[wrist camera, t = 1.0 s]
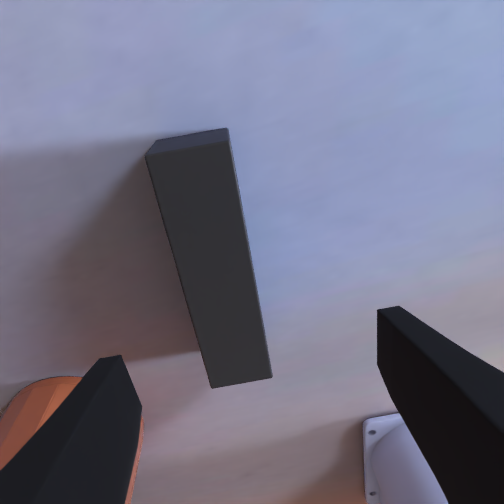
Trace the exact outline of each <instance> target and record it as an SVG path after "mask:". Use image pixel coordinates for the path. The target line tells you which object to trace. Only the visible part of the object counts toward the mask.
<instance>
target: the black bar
mask: <svg viewBox="0 0 504 504" xmlns="http://www.w3.org/2000/svg"><path fill="white" fill-rule="evenodd" d="M145 160H146V164H147V167H148V171H149V174H150V177H151V181H152V184H153V188H154V191H155V195H156V198H157V202H158V205H159V209H160V212H161V216H162V219H163V223H164V226H165V230H166V233H167V236H168V240H169V243H170V247H171V250H172V254H173V257H174V261H175V264H176V268H177V271H178V275H179V278H180V282H181V285H182V289H183V292H184V296H185V299H186V302H187V306H188V309H189V313H190V316H191V320H192V323H193V327H194V330H195V334H196V337H197V341H198V344H199V348H200V351H201V355H202V358H203V362H204V365H205V368H206V372H207V375H208V379H209V382H210V386H211V388H212V389H213V388H218V387H224V386H230V385H235V384H241V383H246V382H252V381H257V380H263V379H268V378H272V377H273V375H272V369H271V364H270V358H269V353H268V347H267V341H266V336H265V330H264V325H263V319H262V314H261V308H260V303H259V297H258V292H257V286H256V280H255V275H254V269H253V264H252V258H251V253H250V247H249V242H248V236H247V230H246V225H245V219H244V214H243V208H242V203H241V197H240V192H239V186H238V180H237V175H236V169H235V164H234V158H233V153H232V147H231V142H230V136H229V131H228V128H222V129H217V130H211V131H206V132H200V133H194V134H189V135H183V136H178V137H172V138H166V139H161V140H157V141H155V143H154V144H153V145H152V147H151V148H150V149H149V151H148V152H147V153H146V155H145Z"/></svg>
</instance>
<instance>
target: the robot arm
mask: <svg viewBox="0 0 504 504" xmlns="http://www.w3.org/2000/svg"><path fill="white" fill-rule="evenodd" d="M377 365H378V368H379V370H380V373H381V375H382V378H383V380H384V383H385V385H386V387H387V390H388V392H389V394H390V397H391V399H392V401H393V403H394V404H395V406H396V408H397V410H398V412H399V413H396V414H391V415H385V416H380V417H374V418H369V419H367V420H365V421H364V422H363V450H364V480H365V499H366V502H367V503H368V504H379V503H380V504H504V372H502V371H500V370H498V369H497V368H495V367H493V366H491V365H490V364H488V363H486V362H484V361H483V360H481V359H479V358H478V357H476V356H474V355H473V354H471V353H470V352H468V351H466V350H465V349H463V348H462V347H460V346H458V345H457V344H455V343H454V342H452V341H451V340H449V339H448V338H446V337H445V336H443V335H442V334H440V333H439V332H437V331H436V330H434V329H433V328H431V327H430V326H428V325H427V324H425V323H424V322H422V321H421V320H419V319H418V318H416V317H415V316H413V315H412V314H411V313H409V312H408V311H406V310H405V309H403V308H402V307H400V306H395V307H389V308H384V309H378V310H377ZM141 412H142V405H141V403H140V400H139V398H138V395H137V393H136V390H135V388H134V386H133V383H132V381H131V378H130V376H129V373H128V371H127V368H126V366H125V364H124V361H123V359H122V356H121V355H117V356H111V357H106V358H100V359H98V361H97V362H96V363H95V364H94V365H93V366H92V367H91V369H90V370H89V371H88V372H87V373H86V374H85V376H84V377H83V378H82V379H81V380H80V382H79V383H78V384H77V385H76V386H75V388H74V389H73V390H72V391H71V392H70V394H69V395H68V396H67V397H66V398H65V400H64V401H63V402H62V403H61V404H60V405H59V407H58V408H57V409H56V410H55V411H54V412H53V414H52V415H51V416H50V417H49V418H48V419H47V421H46V422H45V423H44V424H43V425H42V426H41V427H40V428H39V430H38V431H37V432H36V433H35V434H34V435H33V436H32V437H31V438H30V439H29V440H28V441H27V443H26V444H25V445H24V446H23V447H22V448H21V449H20V450H19V451H18V452H17V453H16V455H15V456H14V457H13V458H12V459H11V460H10V461H9V462H8V463H7V464H6V465H5V466H4V467H3V468H2V469H1V470H0V504H125V501H126V497H127V493H128V488H129V484H130V479H131V475H132V471H133V466H134V461H135V457H136V452H137V448H138V442H139V434H140V424H141Z"/></svg>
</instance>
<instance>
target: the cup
mask: <svg viewBox="0 0 504 504" xmlns="http://www.w3.org/2000/svg"><path fill="white" fill-rule="evenodd" d="M82 378H83V377H74V376H62V377H53V378H48V379H44V380H40V381H38V382H35V383H33V384H31V385H29V386H27V387H25V388H24V389H22V390H21V391H19V392H18V393H17V394H16V395H15V396H14V397H13V399H12V400H11V401H10V403H9V404H8V406H7V408H6V409H5V410H4V412H3V413H2V415H1V416H0V470H1V469H2V468H3V467H4V466H5V465H6V464H7V463H8V462H9V461H10V460H11V459H12V458H13V457H14V456H15V455H16V453H17V452H18V451H19V450H20V449H21V448H22V447H23V446H24V445H25V444H26V443H27V441H28V440H29V439H30V438H31V437H32V436H33V435H34V434H35V433H36V432H37V431H38V430H39V428H40V427H41V426H42V425H43V424H44V423H45V422H46V421H47V419H48V418H49V417H50V416H51V415H52V414H53V412H54V411H55V410H56V409H57V408H58V407H59V405H60V404H61V403H62V402H63V401H64V400H65V398H66V397H67V396H68V395H69V394H70V392H71V391H72V390H73V389H74V388H75V386H76V385H77V384H78V383H79V382H80V380H81V379H82ZM143 432H144V422H143V417H142V414H141V424H140V434H139V442H138V448H137V452H136V457H135V461H134V466H133V471H132V475H131V479H130V484H129V488H128V493H127V497H126V501H125V504H130V503H131V498H132V493H133V488H134V483H135V478H136V472H137V467H138V462H139V457H140V452H141V447H142V441H143Z"/></svg>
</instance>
